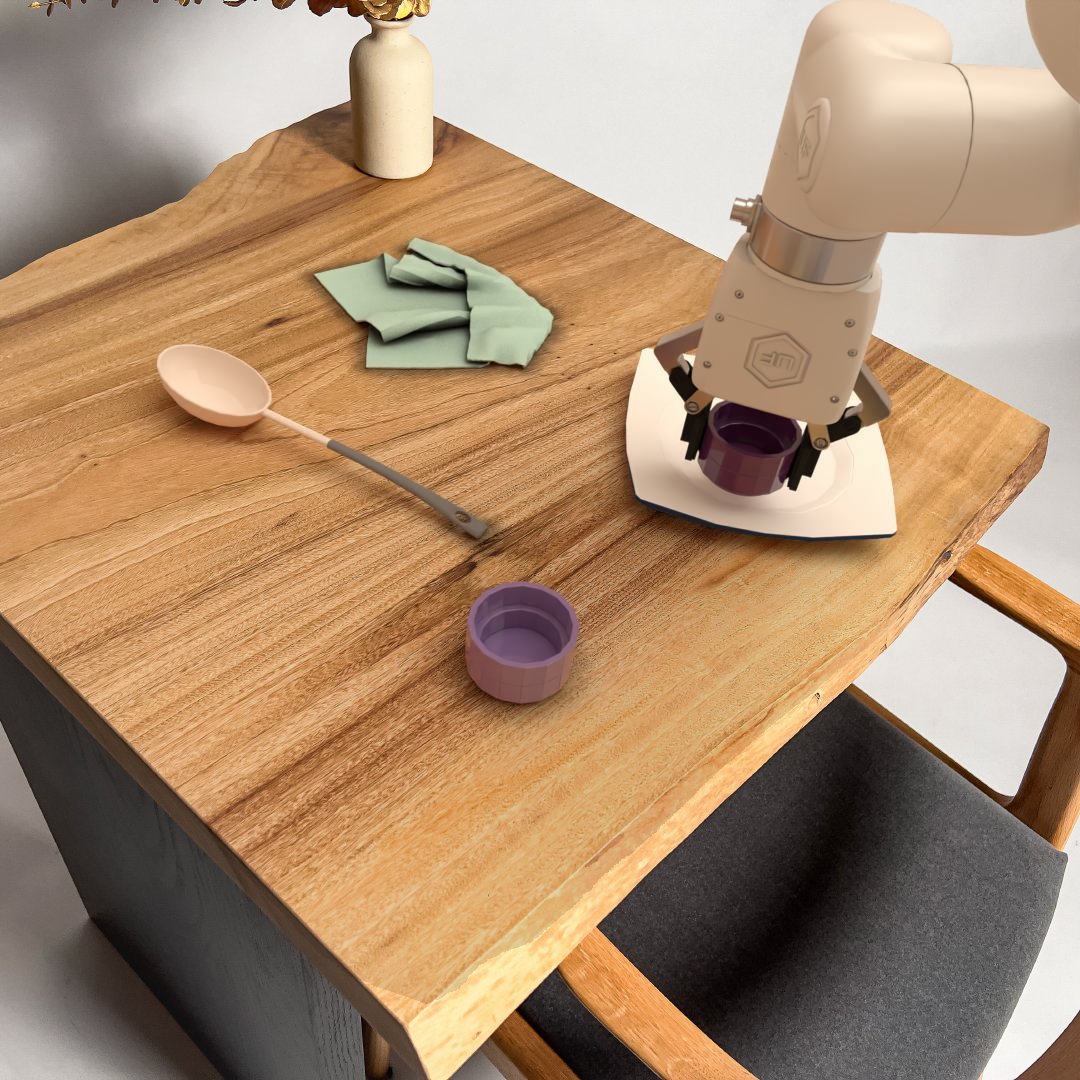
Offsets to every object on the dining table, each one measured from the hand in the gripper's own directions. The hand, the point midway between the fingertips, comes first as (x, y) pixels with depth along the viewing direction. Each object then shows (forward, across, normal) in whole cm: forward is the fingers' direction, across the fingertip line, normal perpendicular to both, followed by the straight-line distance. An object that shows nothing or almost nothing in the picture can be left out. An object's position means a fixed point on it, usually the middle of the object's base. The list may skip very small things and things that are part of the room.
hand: (743, 462), depth 71 cm
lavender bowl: (+4, -10, -20) cm, 23 cm away
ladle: (+4, -30, -8) cm, 31 cm away
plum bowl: (+1, 0, 0) cm, 1 cm away
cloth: (+4, -30, +14) cm, 34 cm away
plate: (+4, 0, +6) cm, 7 cm away
